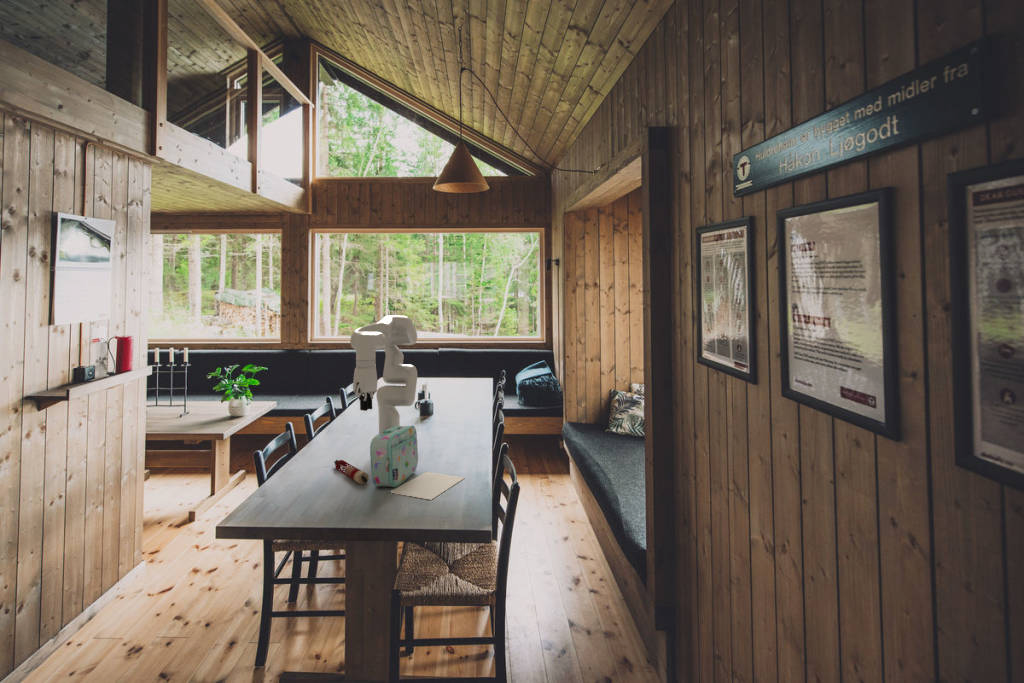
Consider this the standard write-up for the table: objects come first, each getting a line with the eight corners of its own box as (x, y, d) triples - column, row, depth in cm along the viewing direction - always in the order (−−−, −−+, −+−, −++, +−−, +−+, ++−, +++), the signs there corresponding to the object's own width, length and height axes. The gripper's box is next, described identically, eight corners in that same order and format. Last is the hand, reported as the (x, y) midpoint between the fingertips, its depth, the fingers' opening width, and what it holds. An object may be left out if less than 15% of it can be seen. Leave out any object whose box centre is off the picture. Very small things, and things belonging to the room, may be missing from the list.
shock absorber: (328, 460, 222) (358, 478, 199) (338, 454, 225) (369, 471, 202) (333, 470, 224) (363, 489, 201) (343, 464, 226) (373, 482, 203)
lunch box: (393, 493, 194) (393, 436, 193) (368, 490, 196) (367, 434, 195) (420, 470, 221) (420, 420, 219) (397, 469, 223) (397, 419, 221)
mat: (388, 493, 194) (388, 492, 194) (426, 472, 218) (426, 471, 218) (431, 500, 187) (431, 499, 187) (464, 478, 211) (464, 477, 211)
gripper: (370, 361, 219) (371, 405, 221) (344, 365, 205) (345, 412, 206) (385, 362, 216) (385, 407, 218) (360, 366, 202) (361, 414, 203)
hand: (366, 409), depth 212 cm, fingers closed
